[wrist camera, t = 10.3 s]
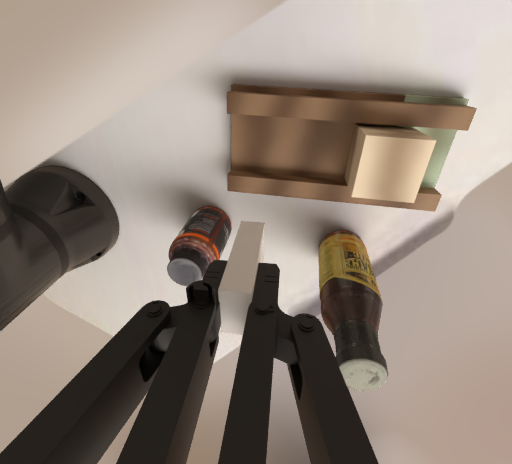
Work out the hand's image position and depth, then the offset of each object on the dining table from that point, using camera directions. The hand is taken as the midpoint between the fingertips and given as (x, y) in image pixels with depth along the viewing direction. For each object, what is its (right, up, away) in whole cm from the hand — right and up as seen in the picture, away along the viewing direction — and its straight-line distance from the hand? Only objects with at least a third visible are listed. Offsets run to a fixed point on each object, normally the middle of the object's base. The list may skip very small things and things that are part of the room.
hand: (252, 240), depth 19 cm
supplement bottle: (-6, +2, +22) cm, 23 cm away
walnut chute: (+9, +10, +15) cm, 20 cm away
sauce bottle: (+12, -1, +21) cm, 24 cm away
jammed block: (+14, +9, +13) cm, 21 cm away
